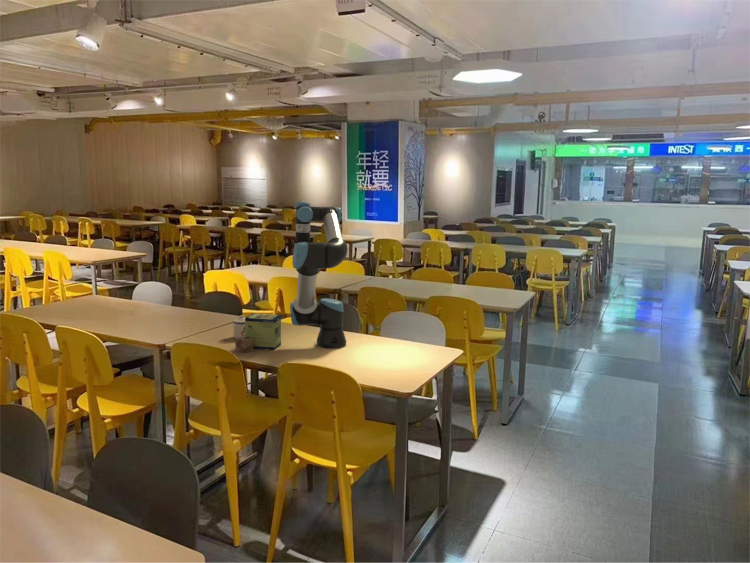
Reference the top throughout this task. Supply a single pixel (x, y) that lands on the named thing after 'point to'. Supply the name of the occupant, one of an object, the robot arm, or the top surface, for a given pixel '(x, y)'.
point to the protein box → (264, 330)
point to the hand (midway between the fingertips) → (302, 276)
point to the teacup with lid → (239, 327)
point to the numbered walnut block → (244, 344)
